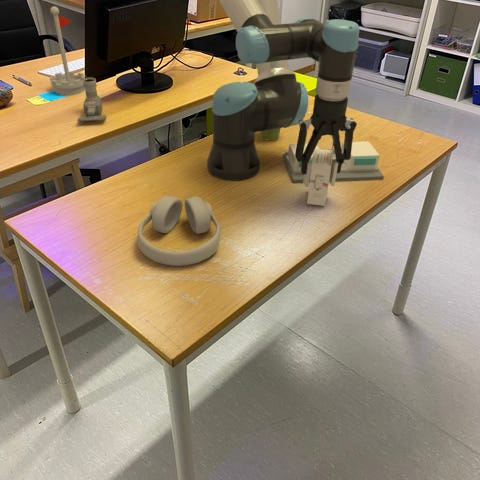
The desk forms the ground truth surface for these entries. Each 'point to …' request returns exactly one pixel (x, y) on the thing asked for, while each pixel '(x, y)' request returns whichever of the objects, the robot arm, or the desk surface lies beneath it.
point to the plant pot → (270, 134)
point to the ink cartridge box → (319, 176)
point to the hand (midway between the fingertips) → (318, 183)
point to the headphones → (166, 219)
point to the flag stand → (65, 64)
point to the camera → (91, 102)
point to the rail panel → (351, 170)
